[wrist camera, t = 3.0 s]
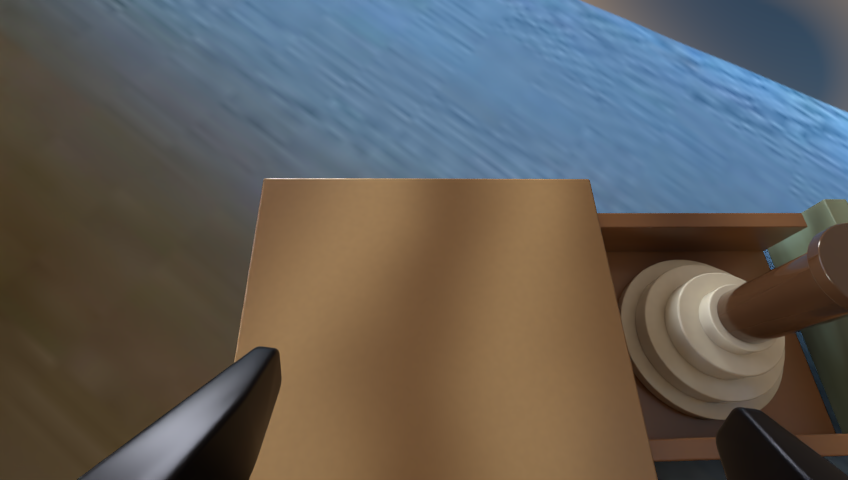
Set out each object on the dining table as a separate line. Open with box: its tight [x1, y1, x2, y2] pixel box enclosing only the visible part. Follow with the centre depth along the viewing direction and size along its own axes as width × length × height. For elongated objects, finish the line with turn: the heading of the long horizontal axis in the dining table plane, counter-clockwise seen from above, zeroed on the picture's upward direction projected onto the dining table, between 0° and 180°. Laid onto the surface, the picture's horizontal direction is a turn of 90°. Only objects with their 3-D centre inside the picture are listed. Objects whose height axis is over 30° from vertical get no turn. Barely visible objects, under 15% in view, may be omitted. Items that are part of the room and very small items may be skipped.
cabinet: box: [234, 178, 658, 480], centre depth 20 cm, size 16×14×6 cm
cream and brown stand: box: [618, 223, 848, 421], centre depth 18 cm, size 8×8×9 cm
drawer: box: [597, 199, 848, 462], centre depth 21 cm, size 19×12×4 cm, turn 92°
